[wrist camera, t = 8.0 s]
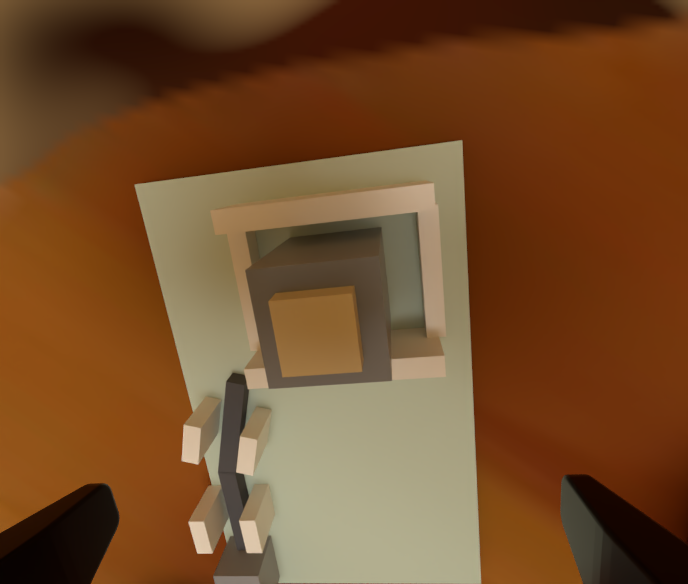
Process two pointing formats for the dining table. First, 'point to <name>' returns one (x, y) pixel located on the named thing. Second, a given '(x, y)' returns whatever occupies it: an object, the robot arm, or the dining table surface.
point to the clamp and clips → (211, 513)
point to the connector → (323, 310)
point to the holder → (245, 218)
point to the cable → (233, 452)
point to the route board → (344, 399)
